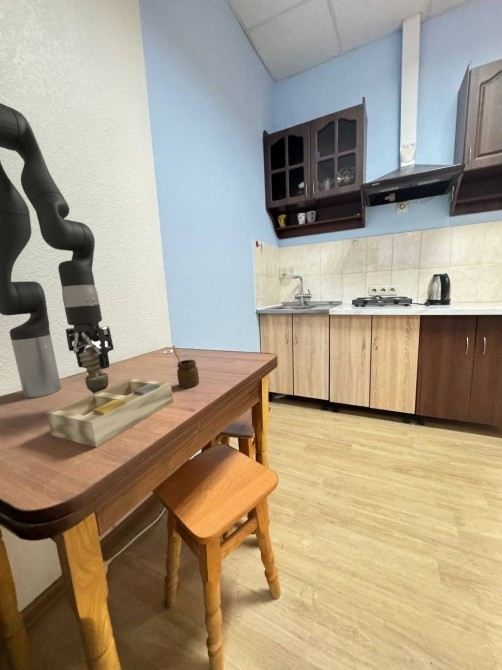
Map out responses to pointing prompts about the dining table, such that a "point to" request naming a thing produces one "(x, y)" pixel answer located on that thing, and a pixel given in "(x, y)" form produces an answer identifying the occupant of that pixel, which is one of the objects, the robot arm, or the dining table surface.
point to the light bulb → (93, 371)
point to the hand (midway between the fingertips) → (94, 367)
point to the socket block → (109, 411)
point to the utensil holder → (187, 372)
